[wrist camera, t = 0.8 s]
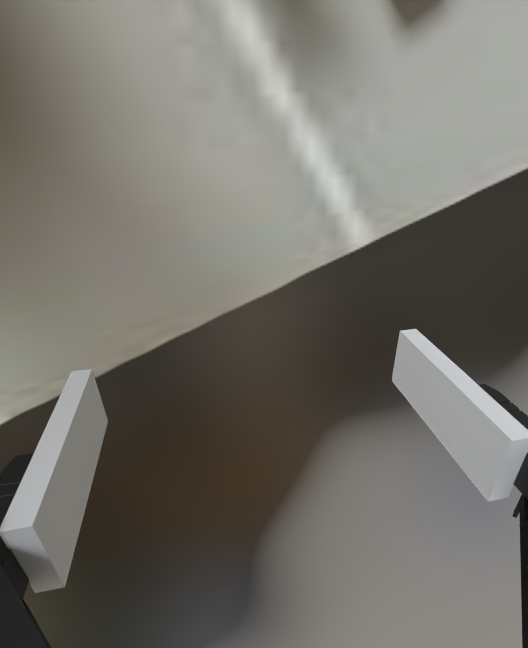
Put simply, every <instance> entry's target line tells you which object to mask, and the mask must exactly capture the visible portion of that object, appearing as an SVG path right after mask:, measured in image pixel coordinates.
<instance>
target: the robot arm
mask: <svg viewBox="0 0 528 648" xmlns="http://www.w3.org/2000/svg"><path fill="white" fill-rule="evenodd" d="M392 381H393V383H394V384H395V385H396V386H397V388H398V389H399V390H400V391H401V393H402V394H403V395H404V396H405V398H406V399H407V400H408V401H409V403H410V404H411V405H412V407H413V408H414V409H415V410H416V412H417V413H418V414H419V415H420V417H421V418H422V419H423V420H424V421H425V423H426V424H427V425H428V426H429V428H430V429H431V431H432V432H433V433H434V434H435V436H436V437H437V438H438V439H439V440H440V442H441V443H442V444H443V446H444V447H445V448H446V449H447V451H448V452H449V453H450V454H451V456H452V457H453V458H454V459H455V461H456V462H457V463H458V464H459V466H460V467H461V468H462V470H463V471H464V472H465V473H466V475H467V476H468V477H469V478H470V480H471V481H472V482H473V483H474V485H475V486H476V487H477V488H478V490H479V491H480V492H481V494H482V495H483V496H484V497H485V498H486V500H487V501H493V500H498V499H502V498H507V497H509V495H510V493H511V491H512V488H513V486H514V485H515V486H516V487H517V488H518V489H519V491H520V492H521V493H522V495H521V497H520V500H519V502H518V504H517V506H516V508H515V510H514V513H513V517H517V516H518V514H519V512H520V547H521V548H520V549H521V550H520V551H521V595H522V639H523V640H522V641H523V648H528V416H527V415H526V414H524V413H523V412H522V411H519V409H518V407H516V406H515V405H514V404H513V403H510V401H509V400H508V399H507V398H506V397H505V396H504V395H502V394H501V393H500V392H499V391H497V390H495V389H493V388H491V387H490V386H488V385H486V384H481V385H477V384H476V383H475V382H474V381H473V380H472V379H470V378H469V376H467V375H466V374H465V373H464V372H463V371H462V370H461V369H460V368H459V367H458V366H456V365H455V364H454V363H453V362H452V361H451V360H450V359H448V357H446V356H445V355H444V354H443V353H442V352H441V351H440V350H439V349H438V348H436V347H435V346H434V345H433V344H432V343H431V342H430V341H429V340H428V339H426V338H425V337H424V336H423V335H422V334H421V333H420V332H418V330H417V329H411V330H403V331H400V334H399V340H398V346H397V353H396V358H395V365H394V370H393V376H392ZM107 423H108V420H107V417H106V414H105V410H104V407H103V404H102V401H101V397H100V394H99V391H98V388H97V384H96V381H95V378H94V374H93V371H92V369H88V370H80V371H72V372H71V374H70V376H69V378H68V380H67V382H66V385H65V387H64V389H63V391H62V393H61V395H60V398H59V400H58V402H57V404H56V406H55V409H54V411H53V413H52V415H51V417H50V420H49V422H48V424H47V426H46V428H45V431H44V433H43V435H42V437H41V439H40V441H39V444H38V446H37V448H36V450H35V452H34V453H32V454H25V455H19V456H16V457H15V458H14V459H13V460H12V461H11V462H10V463H9V464H8V465H7V466H6V467H5V468H4V469H3V470H2V472H1V474H0V648H52V647H51V646H50V644H49V642H48V640H47V639H46V637H45V635H44V634H43V632H42V630H41V628H40V627H39V625H38V623H37V621H36V620H35V618H34V616H33V615H32V613H31V611H30V610H29V608H28V606H27V604H26V603H25V601H24V600H23V597H24V593H25V591H26V588H27V585H28V582H29V583H30V585H31V587H32V588H33V590H34V592H35V593H37V592H42V591H47V590H52V589H57V588H62V587H65V584H66V581H67V577H68V573H69V569H70V565H71V561H72V557H73V554H74V550H75V545H76V542H77V538H78V534H79V530H80V526H81V523H82V519H83V515H84V511H85V508H86V503H87V500H88V496H89V492H90V488H91V484H92V480H93V477H94V473H95V468H96V465H97V461H98V458H99V454H100V449H101V446H102V442H103V438H104V434H105V431H106V427H107Z"/></svg>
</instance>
